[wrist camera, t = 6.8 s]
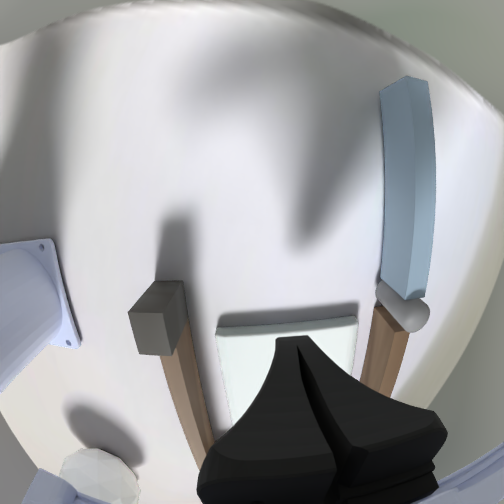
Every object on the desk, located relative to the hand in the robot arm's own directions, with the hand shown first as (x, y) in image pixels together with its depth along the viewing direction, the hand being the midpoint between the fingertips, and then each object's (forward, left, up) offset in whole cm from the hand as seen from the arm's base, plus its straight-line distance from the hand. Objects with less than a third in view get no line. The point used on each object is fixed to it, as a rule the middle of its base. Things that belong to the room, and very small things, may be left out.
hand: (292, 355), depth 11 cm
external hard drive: (+1, -7, -5) cm, 9 cm away
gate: (+6, +6, -4) cm, 9 cm away
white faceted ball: (-19, -21, -5) cm, 29 cm away
